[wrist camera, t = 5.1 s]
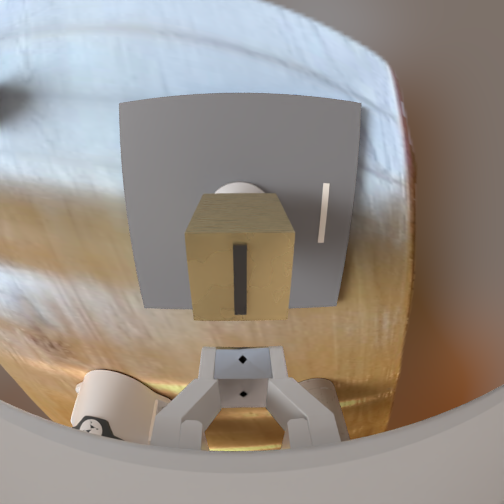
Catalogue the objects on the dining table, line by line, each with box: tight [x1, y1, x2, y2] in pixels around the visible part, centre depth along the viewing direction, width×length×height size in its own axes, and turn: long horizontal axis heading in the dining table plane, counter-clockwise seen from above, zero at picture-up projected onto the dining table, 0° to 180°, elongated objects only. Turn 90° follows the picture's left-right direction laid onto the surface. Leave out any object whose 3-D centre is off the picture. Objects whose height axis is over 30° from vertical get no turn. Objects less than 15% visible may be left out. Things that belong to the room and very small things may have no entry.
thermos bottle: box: [299, 378, 350, 442], centre depth 28 cm, size 8×8×28 cm
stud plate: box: [119, 93, 361, 309], centre depth 23 cm, size 22×22×10 cm
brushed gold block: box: [185, 193, 295, 321], centre depth 19 cm, size 6×6×8 cm
